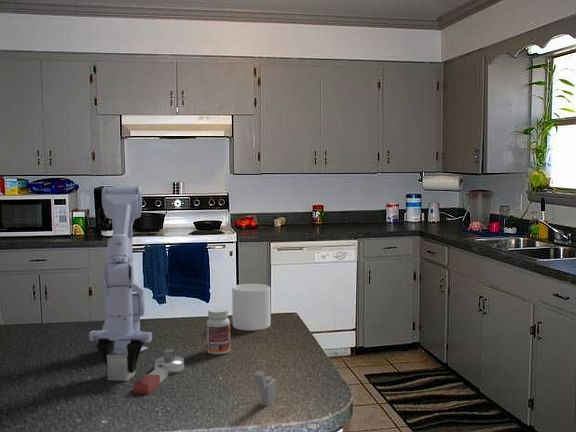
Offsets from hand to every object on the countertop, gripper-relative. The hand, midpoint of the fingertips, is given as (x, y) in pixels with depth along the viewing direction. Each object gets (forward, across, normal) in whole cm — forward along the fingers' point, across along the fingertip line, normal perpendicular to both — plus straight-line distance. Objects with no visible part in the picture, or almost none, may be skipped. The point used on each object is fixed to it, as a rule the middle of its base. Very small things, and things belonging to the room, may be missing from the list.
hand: (121, 370), depth 139 cm
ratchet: (+1, +9, 0) cm, 9 cm away
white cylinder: (+2, +22, +47) cm, 52 cm away
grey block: (+1, 0, 0) cm, 1 cm away
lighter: (+2, +36, -12) cm, 38 cm away
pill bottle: (+2, +18, +21) cm, 28 cm away
